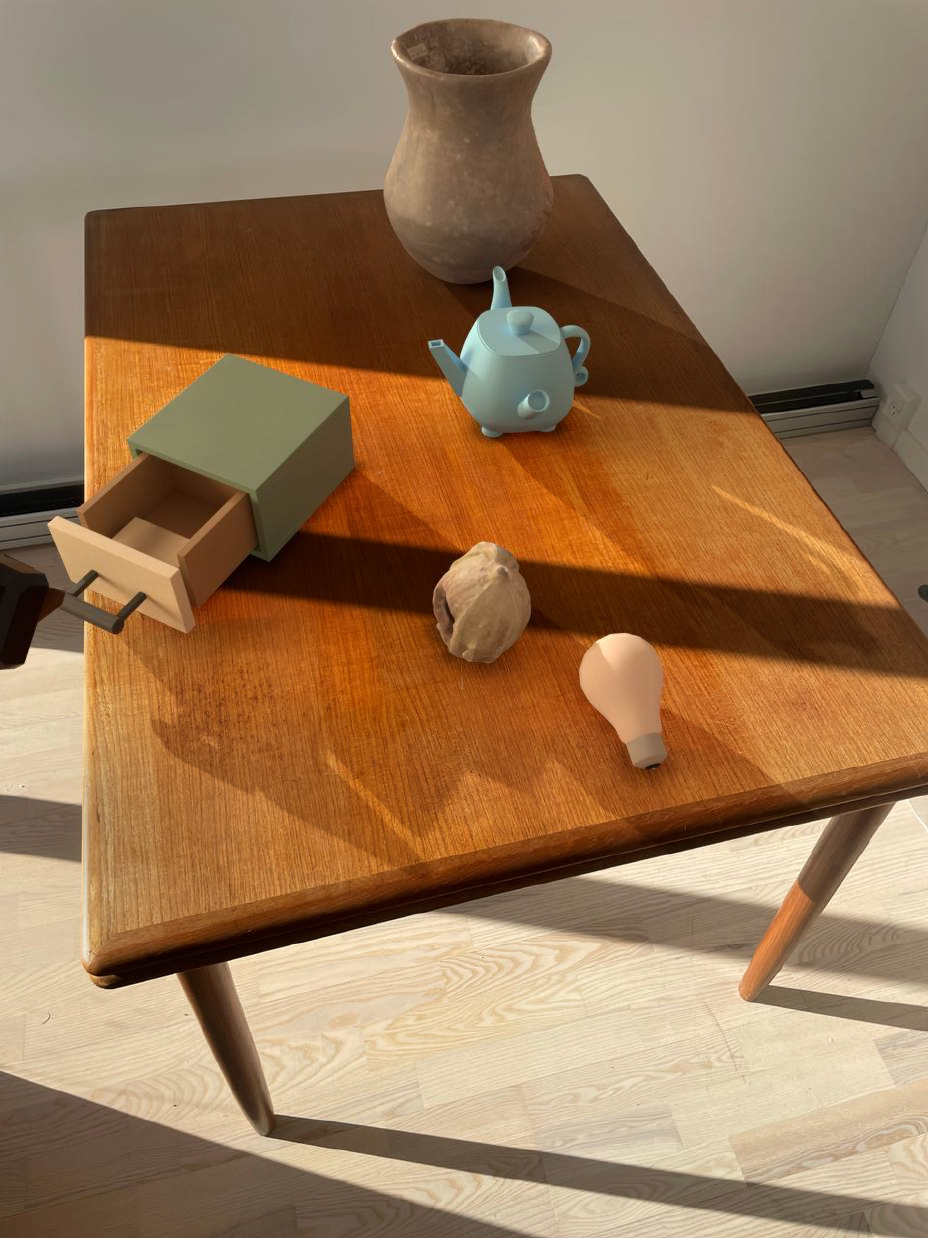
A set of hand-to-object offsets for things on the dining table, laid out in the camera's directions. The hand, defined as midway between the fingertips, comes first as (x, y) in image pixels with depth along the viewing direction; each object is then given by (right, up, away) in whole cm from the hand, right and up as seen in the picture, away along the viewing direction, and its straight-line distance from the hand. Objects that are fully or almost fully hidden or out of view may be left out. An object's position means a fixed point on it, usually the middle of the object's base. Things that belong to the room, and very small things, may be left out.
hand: (11, 572), depth 68 cm
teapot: (+36, +18, +34) cm, 53 cm away
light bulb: (+44, -11, +9) cm, 46 cm away
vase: (+32, +40, +52) cm, 72 cm away
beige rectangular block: (+5, +1, +15) cm, 16 cm away
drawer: (+5, +1, +16) cm, 17 cm away
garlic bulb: (+33, -5, +14) cm, 36 cm away
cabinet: (+11, +9, +25) cm, 29 cm away
